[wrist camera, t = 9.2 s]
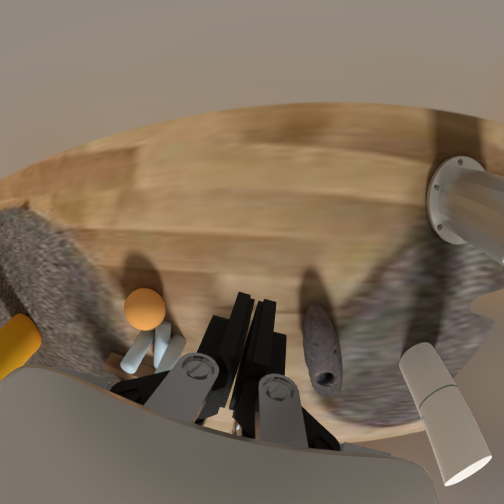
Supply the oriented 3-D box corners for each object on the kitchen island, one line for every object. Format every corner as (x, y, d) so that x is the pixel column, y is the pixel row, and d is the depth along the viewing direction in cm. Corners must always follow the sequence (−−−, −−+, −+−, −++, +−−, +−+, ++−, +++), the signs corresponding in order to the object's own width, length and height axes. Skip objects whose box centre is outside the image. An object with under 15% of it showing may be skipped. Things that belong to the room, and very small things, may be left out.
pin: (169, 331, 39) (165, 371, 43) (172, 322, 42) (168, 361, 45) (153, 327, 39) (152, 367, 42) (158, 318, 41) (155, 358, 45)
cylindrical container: (401, 377, 43) (442, 489, 20) (396, 354, 41) (446, 478, 18) (434, 361, 41) (486, 465, 18) (432, 336, 39) (496, 448, 16)
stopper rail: (215, 386, 46) (211, 400, 43) (213, 392, 47) (209, 406, 43) (112, 351, 45) (103, 363, 42) (112, 358, 46) (104, 370, 43)
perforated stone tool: (294, 297, 38) (297, 327, 32) (331, 289, 37) (341, 318, 31) (308, 372, 43) (311, 403, 37) (339, 366, 42) (346, 397, 36)
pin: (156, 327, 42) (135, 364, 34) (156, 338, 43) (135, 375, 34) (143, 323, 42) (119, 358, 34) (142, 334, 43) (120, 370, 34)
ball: (155, 338, 39) (178, 308, 40) (139, 339, 33) (165, 304, 34) (127, 312, 40) (150, 283, 41) (109, 309, 34) (134, 275, 36)
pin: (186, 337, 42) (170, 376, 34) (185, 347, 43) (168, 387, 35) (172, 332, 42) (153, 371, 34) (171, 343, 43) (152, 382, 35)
